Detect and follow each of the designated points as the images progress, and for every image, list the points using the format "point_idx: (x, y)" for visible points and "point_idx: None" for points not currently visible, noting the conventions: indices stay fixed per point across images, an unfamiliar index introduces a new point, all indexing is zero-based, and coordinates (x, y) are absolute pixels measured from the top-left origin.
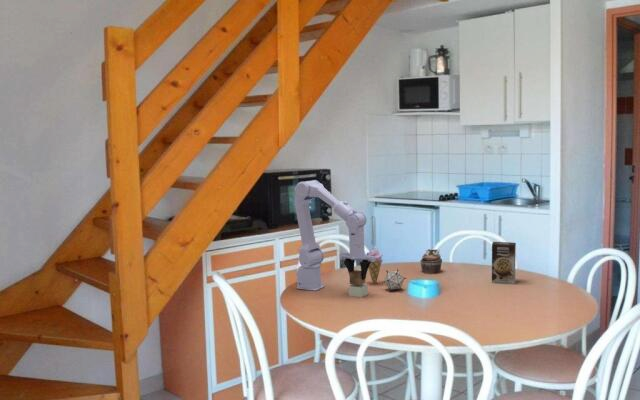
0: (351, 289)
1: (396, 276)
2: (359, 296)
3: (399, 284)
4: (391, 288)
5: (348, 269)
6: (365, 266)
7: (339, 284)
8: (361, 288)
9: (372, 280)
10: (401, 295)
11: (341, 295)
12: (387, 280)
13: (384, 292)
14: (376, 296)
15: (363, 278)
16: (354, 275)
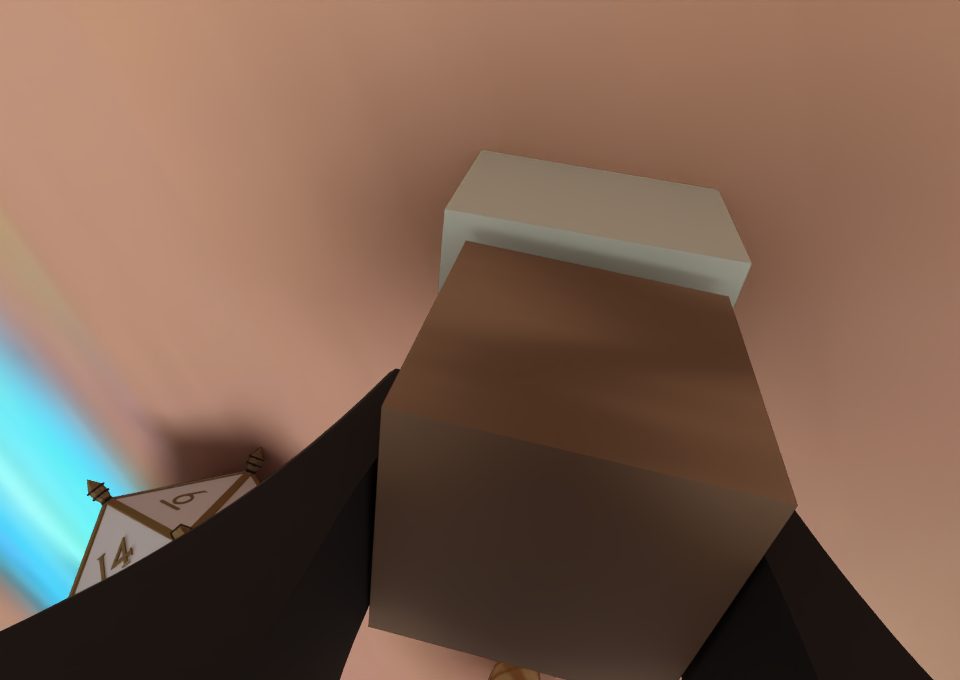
0: (672, 225)
1: None
2: (517, 160)
3: (89, 492)
4: (230, 476)
5: (876, 656)
6: (15, 652)
7: (919, 638)
8: (448, 208)
9: (529, 676)
10: (74, 335)
11: (861, 185)
12: (178, 529)
13: (297, 415)
14: (299, 243)
15: (377, 386)
16: (593, 402)
